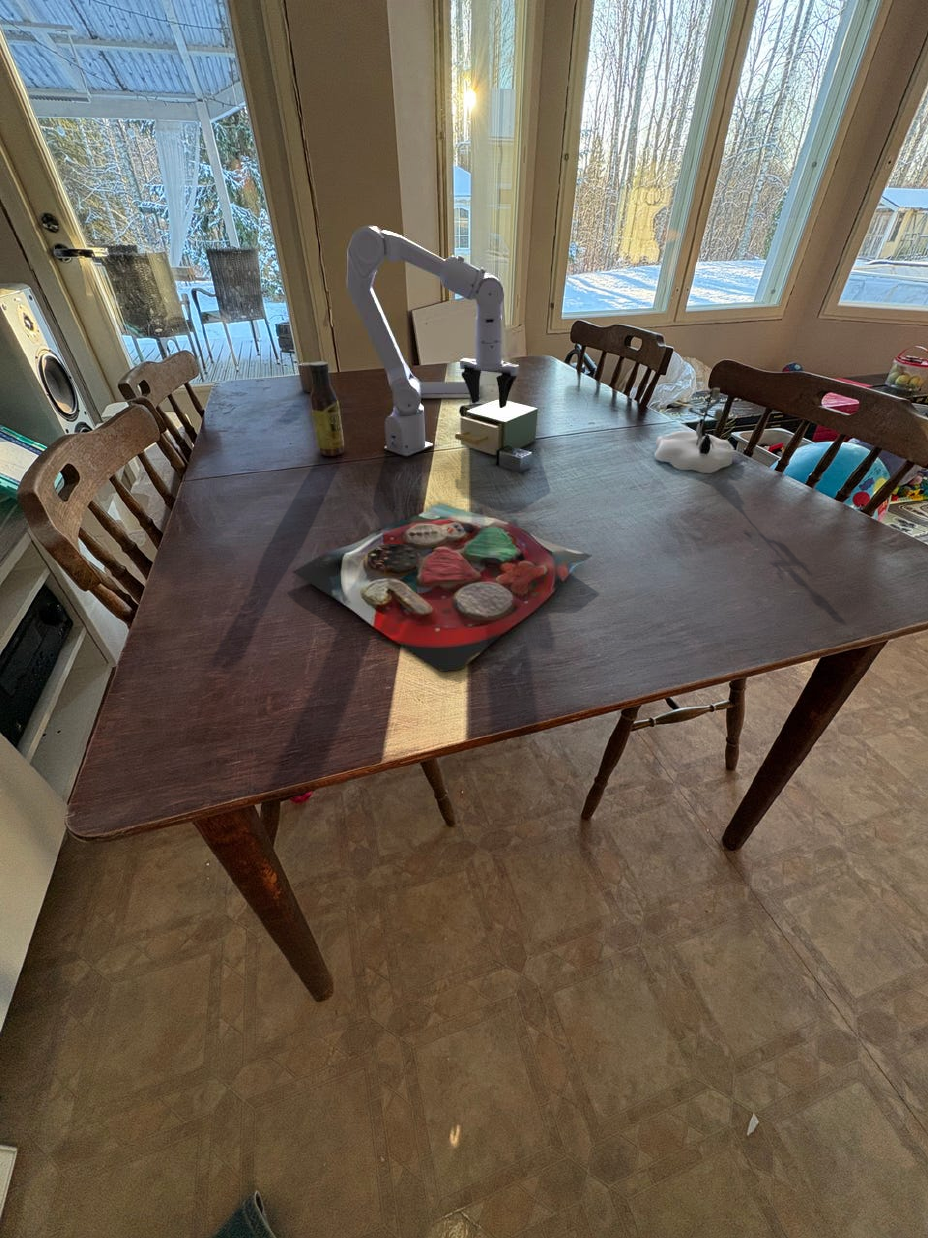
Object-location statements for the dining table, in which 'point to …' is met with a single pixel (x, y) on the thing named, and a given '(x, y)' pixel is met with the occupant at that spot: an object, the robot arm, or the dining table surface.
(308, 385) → the wooden block
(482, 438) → the drawer
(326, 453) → the sauce bottle
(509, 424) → the cabinet
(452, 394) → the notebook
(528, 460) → the grey framed box
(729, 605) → the dining table surface
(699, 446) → the figurine
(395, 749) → the dining table surface
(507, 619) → the platter
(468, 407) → the tape measure
